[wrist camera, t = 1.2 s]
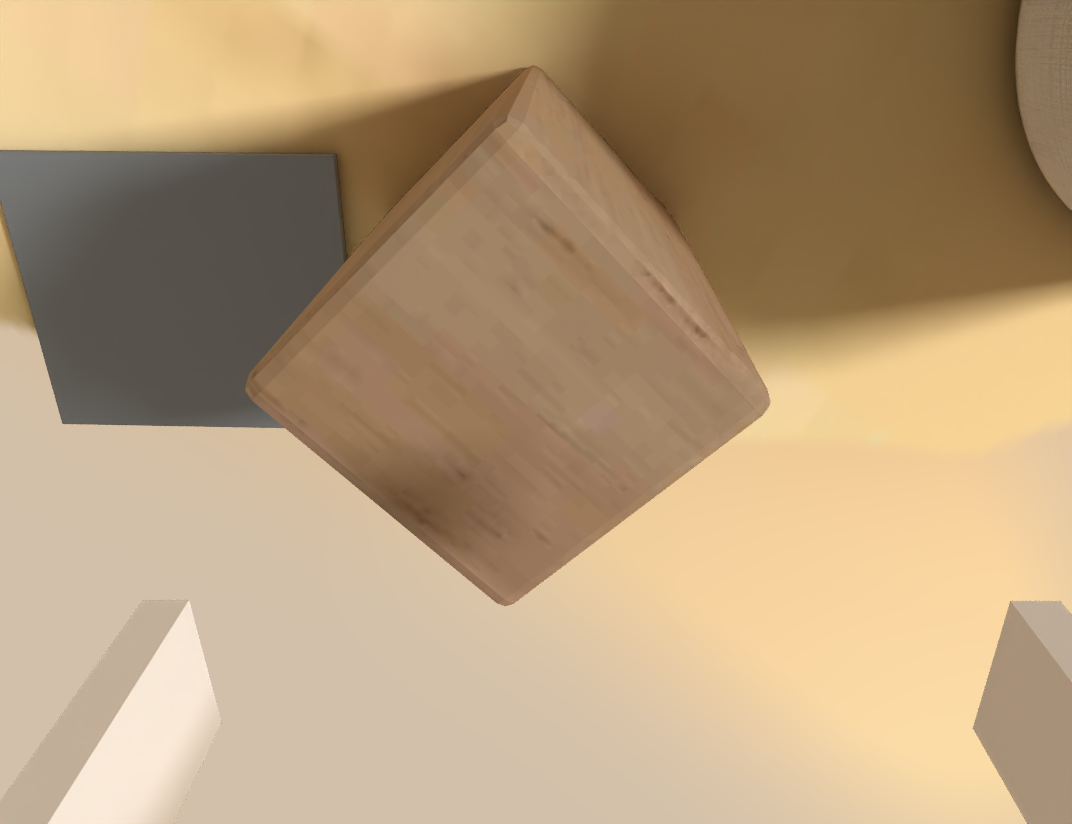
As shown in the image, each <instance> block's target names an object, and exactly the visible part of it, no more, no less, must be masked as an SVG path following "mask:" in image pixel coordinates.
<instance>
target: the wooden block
mask: <svg viewBox="0 0 1072 824" xmlns="http://www.w3.org/2000/svg"><path fill="white" fill-rule="evenodd" d="M245 391H246V392H247V394H248V395H249V397H250V399H251V400H252V401H253V402H254V403H255V404H257V405H258V406H259V407H260V408H262V409H263V410H264V411H265V412H266V413H268V414H269V415H270V416H271V417H272V418H274V419H275V420H276V421H277V422H278V423H280V424H281V425H282V426H283V427H284V428H286V429H287V430H288V431H289V432H291V433H292V434H293V435H294V436H295V437H297V438H298V439H299V440H300V441H301V442H303V443H304V444H305V445H306V446H307V447H309V448H310V449H311V450H312V451H314V452H315V453H316V454H317V455H318V456H320V457H321V458H322V459H323V460H324V461H326V462H327V463H328V464H329V465H330V466H332V467H333V468H334V469H335V470H337V471H338V472H339V473H340V474H341V475H343V476H344V477H345V478H346V479H347V480H349V481H350V482H351V483H352V484H353V485H355V486H356V487H357V488H358V489H359V490H361V491H362V492H363V493H364V494H366V495H367V496H368V497H369V498H370V499H372V500H373V501H374V502H375V503H376V504H378V505H379V506H380V507H381V508H382V509H384V510H385V511H386V512H388V513H389V514H390V515H391V516H392V517H393V518H394V519H396V520H397V521H398V522H399V523H401V524H402V525H403V526H404V527H405V528H407V529H408V530H409V531H410V532H411V533H413V534H414V535H415V536H416V537H417V538H419V539H420V540H421V541H422V542H424V543H425V544H426V545H427V546H428V547H430V548H431V549H432V550H433V551H434V552H436V553H437V554H438V555H439V556H440V557H442V558H443V559H444V560H445V561H446V562H448V563H449V564H450V565H451V566H453V567H454V568H455V569H456V570H457V571H459V572H460V573H461V574H462V575H463V576H465V577H466V578H467V579H468V580H469V581H471V582H472V583H473V584H474V585H475V586H477V587H478V588H479V589H480V590H482V591H483V592H484V593H485V594H486V595H488V596H489V597H490V598H491V599H492V600H494V601H495V602H496V603H498V604H501V605H504V606H507V605H510V604H514V603H515V602H516V601H518V600H519V599H520V598H522V597H523V596H524V595H525V594H527V593H528V592H530V591H531V590H532V589H533V588H535V587H536V586H537V585H539V584H540V583H541V582H543V581H544V580H545V579H547V578H548V577H549V576H551V575H552V574H553V573H555V572H556V571H557V570H559V569H560V568H561V567H562V566H564V565H565V564H567V563H568V562H569V561H571V560H572V559H573V558H574V557H576V556H577V555H578V554H580V553H581V552H582V551H584V550H585V549H586V548H588V547H589V546H590V545H591V544H593V543H594V542H596V541H597V540H598V539H600V538H601V537H602V536H604V535H605V534H606V533H608V532H609V531H610V530H612V529H613V528H614V527H615V526H617V525H618V524H619V523H621V522H622V521H623V520H625V519H626V518H627V517H629V516H630V515H631V514H633V513H634V512H635V511H637V510H638V509H639V508H641V507H642V506H643V505H645V504H646V503H647V502H649V501H650V500H651V499H653V498H654V497H655V496H656V495H658V494H659V493H661V492H662V491H663V490H664V489H666V488H667V487H668V486H670V485H671V484H672V483H674V482H675V481H676V480H677V479H679V478H680V477H682V476H683V475H684V474H685V473H687V472H688V471H689V470H691V469H692V468H694V467H695V466H696V465H698V464H699V463H700V462H701V461H703V460H704V459H705V458H707V457H708V456H709V455H711V454H712V453H713V452H715V451H716V450H717V449H719V448H720V447H721V446H723V445H724V444H725V443H727V442H728V441H729V440H731V439H732V438H733V437H735V436H736V435H737V434H739V433H740V432H741V431H743V430H744V429H745V428H746V427H748V426H749V425H750V424H752V423H753V422H754V421H756V420H757V419H758V418H760V417H761V416H762V415H763V414H764V413H765V411H766V410H767V408H768V407H769V406H770V398H769V394H768V391H767V388H766V386H765V384H764V383H763V381H762V379H761V377H760V375H759V373H758V372H757V370H756V368H755V366H754V364H753V362H752V361H751V359H750V357H749V355H748V353H747V351H746V350H745V348H744V346H743V344H742V342H741V340H740V339H739V337H738V335H737V333H736V331H735V329H734V328H733V326H732V324H731V322H730V320H729V318H728V317H727V315H726V313H725V311H724V309H723V307H722V306H721V304H720V302H719V300H718V298H717V296H716V295H715V293H714V291H713V289H712V287H711V285H710V284H709V282H708V280H707V278H706V276H705V274H704V273H703V271H702V269H701V267H700V265H699V263H698V262H697V260H696V258H695V256H694V254H693V252H692V251H691V249H690V247H689V245H688V243H687V241H686V240H685V238H684V236H683V234H682V232H681V230H680V229H679V227H678V225H677V223H676V221H675V220H674V219H673V217H672V216H671V215H670V214H669V213H668V212H667V211H666V209H665V208H664V207H663V206H662V205H661V204H660V203H659V202H658V200H657V199H656V198H655V197H654V196H653V195H652V194H651V192H650V191H649V190H648V189H647V188H646V187H645V186H644V185H643V183H642V182H641V181H640V180H639V179H638V178H637V177H636V176H635V174H634V173H633V172H632V171H631V170H630V169H629V168H628V166H627V165H626V164H625V163H624V162H623V161H622V160H621V159H620V157H619V156H618V155H617V154H616V153H615V152H614V151H613V150H612V148H611V147H610V146H609V145H608V144H607V143H606V142H605V140H604V139H603V138H602V137H601V136H600V135H599V134H598V133H597V131H596V130H595V129H594V128H593V127H592V126H591V125H590V124H589V122H588V121H587V120H586V119H585V118H584V117H583V116H582V114H581V113H580V112H579V111H578V110H577V109H576V108H575V107H574V105H573V104H572V103H571V102H570V101H569V100H568V99H567V97H566V96H565V95H564V94H563V93H562V92H561V91H560V90H559V88H558V87H557V86H556V85H555V84H554V83H553V82H552V81H551V79H550V78H549V77H548V76H547V75H546V74H545V73H544V71H543V70H542V69H540V68H538V67H536V66H534V65H533V66H531V67H528V68H526V69H525V70H524V71H523V72H522V73H521V74H520V75H519V76H518V77H517V78H516V79H515V80H514V81H513V82H512V83H511V84H510V85H509V86H508V87H507V88H506V90H505V91H504V92H503V93H502V94H501V95H500V96H499V97H498V98H497V99H496V100H495V101H494V102H493V103H492V104H491V105H490V106H489V107H488V108H487V109H486V110H485V112H484V113H483V114H482V115H481V116H480V117H479V118H478V119H477V120H476V121H475V122H474V123H473V124H472V125H471V126H470V127H469V128H468V129H467V130H466V131H465V132H464V133H463V135H462V136H461V137H460V138H459V139H458V140H457V141H456V142H455V143H454V144H453V145H452V146H451V147H450V148H449V149H448V150H447V151H446V152H445V153H444V154H443V155H442V157H441V158H440V159H439V160H438V161H437V162H436V163H435V164H434V165H433V166H432V167H431V168H430V169H429V170H428V171H427V172H426V173H425V174H424V175H423V176H422V177H421V178H420V180H419V181H418V182H417V183H416V184H415V185H414V186H413V187H412V188H411V189H410V190H409V191H408V192H407V193H406V194H405V195H404V196H403V197H402V198H401V199H400V200H399V202H398V203H397V204H396V205H395V206H394V207H393V208H392V209H391V210H390V211H389V212H388V213H387V214H386V215H385V217H384V218H383V219H382V220H381V221H380V222H379V224H378V225H377V226H376V227H375V228H374V229H373V230H372V232H371V233H370V234H369V235H368V236H367V237H366V239H365V240H364V241H363V242H362V243H361V244H360V246H359V247H358V248H357V249H356V250H355V251H354V253H353V254H352V255H351V256H350V257H349V258H348V259H347V261H346V262H345V263H344V264H343V265H342V266H341V268H340V269H339V270H338V271H337V272H336V273H335V275H334V276H333V277H332V278H331V279H330V280H329V282H328V283H327V284H326V285H325V286H324V287H323V289H322V290H321V291H320V292H319V293H318V294H317V295H316V297H315V298H314V299H313V300H312V301H311V302H310V304H309V305H308V306H307V307H306V308H305V309H304V311H303V312H302V313H301V314H300V315H299V316H298V318H297V319H296V320H295V321H294V322H293V323H292V325H291V326H290V327H289V328H288V329H287V330H286V331H285V333H284V334H283V335H282V336H281V337H280V338H279V340H278V341H277V342H276V343H275V344H274V345H273V347H272V348H271V349H270V350H269V351H268V352H267V354H266V355H265V356H264V357H263V358H262V359H261V360H260V362H259V363H258V364H257V365H256V366H255V367H254V369H253V370H252V371H251V372H250V373H249V376H248V379H247V383H246V386H245Z"/></svg>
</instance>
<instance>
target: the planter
mask: <svg viewBox="0 0 1072 824" xmlns="http://www.w3.org/2000/svg"><path fill="white" fill-rule="evenodd" d="M1015 79H1016V91H1017V99H1018V105H1019V111H1020V115H1021V120H1022V124H1023V128H1024V131H1025V134H1026V138H1027V141H1028V144H1029V146H1030V149H1031V151H1032V154H1033V156H1034V158H1035V161H1036V163H1037V165H1038V167H1039V169H1040V170H1041V172H1042V174H1043V176H1044V177H1045V179H1046V180H1047V182H1048V183H1049V185H1050V186H1051V188H1052V189H1053V190H1054V192H1055V193H1056V194H1057V196H1058V197H1059V198H1060V199H1061V200H1062V202H1063V203H1064V204H1065V205H1066V206H1067V207H1068V208H1069V209H1070V210H1071V211H1072V0H1021V5H1020V11H1019V18H1018V26H1017V35H1016V50H1015Z"/></svg>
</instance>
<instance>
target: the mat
mask: <svg viewBox="0 0 1072 824" xmlns="http://www.w3.org/2000/svg"><path fill="white" fill-rule="evenodd" d="M0 202H1V205H2V209H3V212H4V216H5V219H6V223H7V227H8V230H9V234H10V237H11V241H12V244H13V248H14V252H15V255H16V259H17V262H18V266H19V270H20V273H21V277H22V280H23V284H24V287H25V291H26V295H27V298H28V302H29V305H30V309H31V313H32V316H33V320H34V323H35V327H36V330H37V334H38V338H39V341H40V345H41V348H42V352H43V356H44V359H45V362H46V366H47V370H48V373H49V377H50V380H51V384H52V388H53V391H54V394H55V398H56V402H57V405H58V409H59V413H60V416H61V420H62V423H63V424H98V425H152V426H207V427H208V426H209V427H261V428H284V427H283V426H282V425H281V424H280V423H278V422H277V421H276V420H275V419H274V418H272V417H271V416H270V415H269V414H268V413H266V412H265V411H264V410H263V409H262V408H260V407H259V406H258V405H257V404H255V403H254V402H253V401H252V400H251V399H250V397H249V395H248V394H247V392H246V391H245V386H246V383H247V379H248V376H249V373H250V372H251V371H252V370H253V369H254V367H255V366H256V365H257V364H258V363H259V362H260V360H261V359H262V358H263V357H264V356H265V355H266V354H267V352H268V351H269V350H270V349H271V348H272V347H273V345H274V344H275V343H276V342H277V341H278V340H279V338H280V337H281V336H282V335H283V334H284V333H285V331H286V330H287V329H288V328H289V327H290V326H291V325H292V323H293V322H294V321H295V320H296V319H297V318H298V316H299V315H300V314H301V313H302V312H303V311H304V309H305V308H306V307H307V306H308V305H309V304H310V302H311V301H312V300H313V299H314V298H315V297H316V295H317V294H318V293H319V292H320V291H321V290H322V289H323V287H324V286H325V285H326V284H327V283H328V282H329V280H330V279H331V278H332V277H333V276H334V275H335V273H336V272H337V271H338V270H339V269H340V268H341V266H342V265H343V264H344V263H345V262H346V261H347V257H346V247H345V237H344V226H343V216H342V206H341V196H340V185H339V175H338V165H337V155H336V154H301V153H212V152H124V151H35V150H0Z"/></svg>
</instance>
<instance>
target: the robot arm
mask: <svg viewBox="0 0 1072 824" xmlns="http://www.w3.org/2000/svg"><path fill="white" fill-rule="evenodd" d="M220 725H221V719H220V715H219V711H218V708H217V704H216V700H215V696H214V692H213V689H212V685H211V681H210V677H209V674H208V670H207V666H206V662H205V659H204V655H203V651H202V647H201V643H200V640H199V636H198V633H197V628H196V625H195V621H194V617H193V614H192V610H191V606H190V602H189V600H143V601H142V602H141V603H140V605H139V606H138V608H137V609H136V610H135V612H134V613H133V615H132V616H131V617H130V619H129V620H128V622H127V623H126V625H125V626H124V627H123V629H122V630H121V632H120V633H119V634H118V636H117V637H116V639H115V640H114V641H113V643H112V644H111V646H110V647H109V649H108V650H107V651H106V653H105V654H104V655H103V657H102V658H101V660H100V661H99V663H98V664H97V665H96V667H95V668H94V670H93V671H92V672H91V674H90V675H89V677H88V678H87V679H86V681H85V682H84V684H83V685H82V687H81V688H80V689H79V691H78V692H77V694H76V695H75V696H74V698H73V699H72V701H71V702H70V703H69V705H68V706H67V708H66V709H65V710H64V712H63V713H62V715H61V716H60V718H59V719H58V720H57V722H56V723H55V725H54V726H53V727H52V729H51V730H50V732H49V733H48V734H47V736H46V737H45V739H44V740H43V741H42V743H41V744H40V746H39V747H38V749H37V750H36V751H35V753H34V754H33V756H32V757H31V759H30V760H29V761H28V763H27V764H26V765H25V767H24V768H23V770H22V771H21V773H20V774H19V775H18V777H17V778H16V780H15V781H14V783H13V784H12V785H11V787H10V788H9V789H8V791H7V792H6V794H5V795H4V796H3V798H2V799H1V801H0V824H174V822H175V820H176V818H177V816H178V813H179V811H180V809H181V807H182V805H183V803H184V801H185V799H186V797H187V795H188V793H189V790H190V788H191V786H192V784H193V782H194V780H195V778H196V776H197V774H198V772H199V769H200V767H201V765H202V763H203V761H204V759H205V757H206V755H207V753H208V751H209V749H210V746H211V744H212V742H213V740H214V738H215V736H216V734H217V732H218V730H219V728H220ZM973 729H974V731H975V733H976V734H977V736H978V738H979V740H980V741H981V743H982V745H983V747H984V748H985V750H986V752H987V754H988V755H989V757H990V759H991V761H992V762H993V764H994V766H995V768H996V769H997V771H998V773H999V775H1000V777H1001V778H1002V780H1003V782H1004V783H1005V785H1006V787H1007V789H1008V791H1009V792H1010V794H1011V796H1012V798H1013V799H1014V801H1015V803H1016V805H1017V806H1018V808H1019V810H1020V812H1021V813H1022V815H1023V817H1024V819H1025V820H1026V822H1027V824H1072V614H1071V613H1070V612H1069V611H1068V610H1067V608H1066V607H1065V606H1064V605H1063V604H1062V602H1061V601H1010V604H1009V607H1008V611H1007V614H1006V618H1005V621H1004V625H1003V628H1002V631H1001V635H1000V638H999V641H998V645H997V648H996V652H995V655H994V658H993V662H992V665H991V668H990V672H989V675H988V679H987V682H986V685H985V689H984V692H983V696H982V699H981V703H980V706H979V709H978V713H977V716H976V720H975V723H974V726H973Z"/></svg>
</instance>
